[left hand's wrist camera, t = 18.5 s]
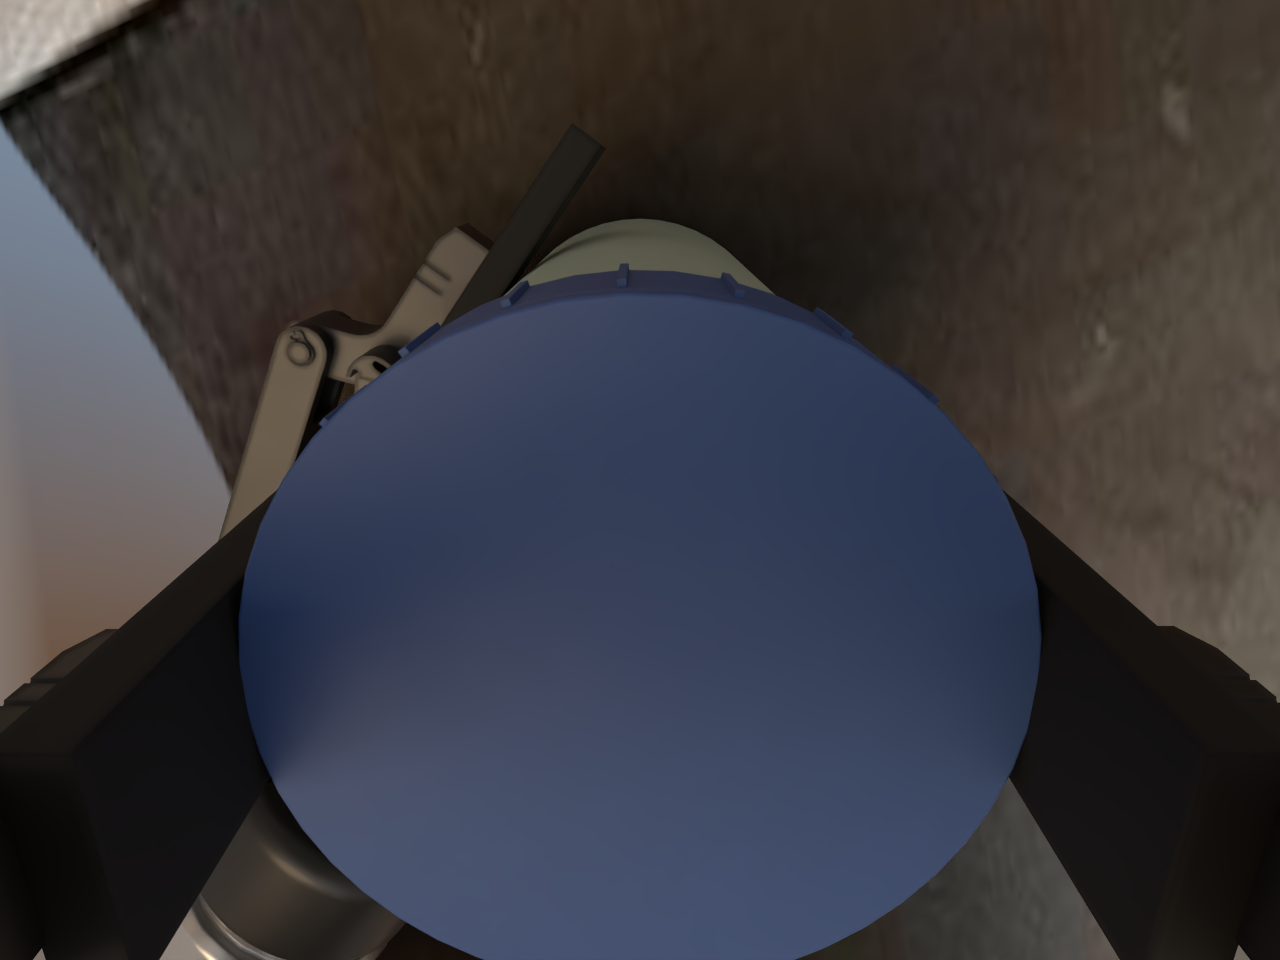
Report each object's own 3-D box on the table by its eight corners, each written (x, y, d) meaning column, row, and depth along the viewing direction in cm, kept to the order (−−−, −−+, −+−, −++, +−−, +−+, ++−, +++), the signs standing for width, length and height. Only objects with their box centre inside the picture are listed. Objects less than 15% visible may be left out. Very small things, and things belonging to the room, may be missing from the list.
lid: (1120, 534, 12) (1223, 611, 10) (707, 953, 14) (718, 1085, 12) (540, 97, 10) (515, 79, 8) (189, 676, 12) (99, 776, 10)
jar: (460, 405, 28) (182, 769, 11) (587, 163, 26) (481, 148, 8) (684, 526, 30) (745, 1012, 13) (826, 309, 27) (1147, 550, 10)
